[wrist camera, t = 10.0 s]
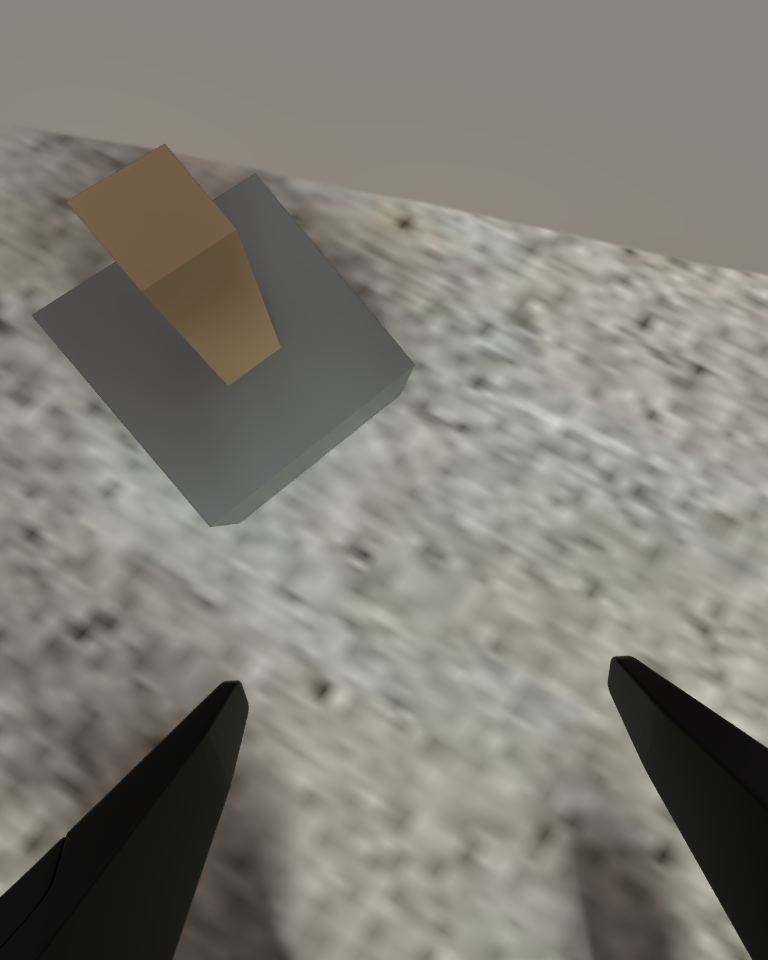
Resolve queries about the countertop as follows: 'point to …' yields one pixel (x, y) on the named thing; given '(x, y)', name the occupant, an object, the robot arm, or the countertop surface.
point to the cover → (220, 335)
